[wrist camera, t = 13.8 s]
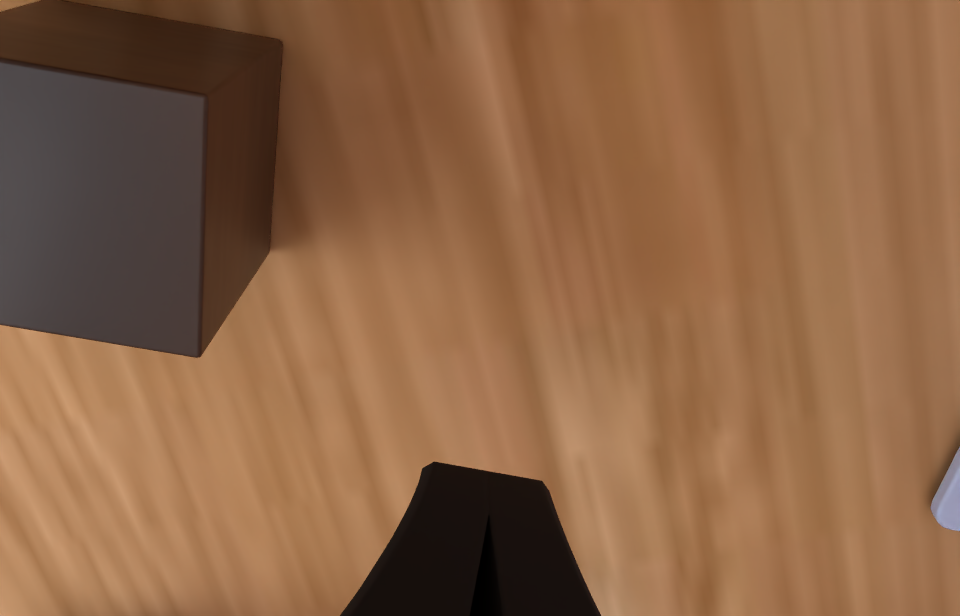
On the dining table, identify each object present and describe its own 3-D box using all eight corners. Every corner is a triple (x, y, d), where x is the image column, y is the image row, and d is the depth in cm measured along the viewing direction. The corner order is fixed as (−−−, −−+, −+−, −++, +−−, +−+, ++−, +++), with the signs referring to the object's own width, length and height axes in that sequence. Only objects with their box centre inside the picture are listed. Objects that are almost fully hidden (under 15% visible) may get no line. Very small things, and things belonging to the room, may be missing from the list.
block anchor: (283, 39, 17) (207, 95, 13) (270, 254, 19) (200, 359, 15) (46, -3, 17) (-106, 39, 13) (58, 217, 19) (-70, 315, 15)
